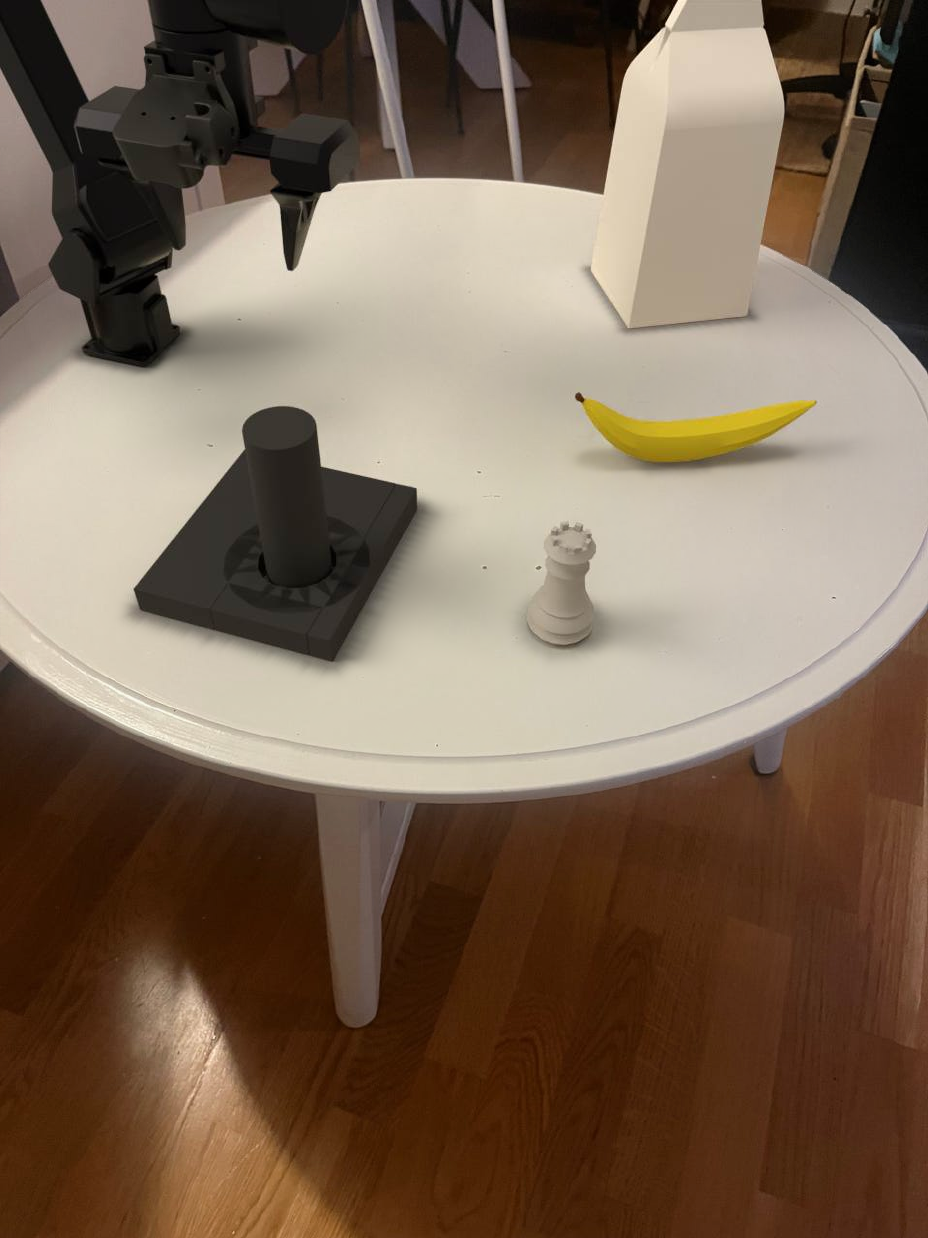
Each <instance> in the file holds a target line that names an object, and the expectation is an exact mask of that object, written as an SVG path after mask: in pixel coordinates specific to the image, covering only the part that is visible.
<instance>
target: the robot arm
mask: <svg viewBox="0 0 928 1238" xmlns="http://www.w3.org/2000/svg"><path fill="white" fill-rule="evenodd" d="M146 1H147V5H148V11H149V17H150V21H151V27H152V33H153V38H154V39H153V41H151V42H149V43H147V44H146V45H144V46H143V50H144V56H143V63H144V64H143V65H144V68H145V79H144V80H145V81H144V86H143V87H141V88H140V89H139V88H133V87H127V86H126V87H125V86H119V85H114V86H112V87H110V88H108V90H105V91H104V92H102V93H101V94H99V95H97V96H96V97H94V98H92V99H91V100H90V99H89V97H88V94H87V93H86V91H85V89H84V87H83V85H82V83H81V81H80V78H79V76H78V74H77V72H76V70H75V68H74V65H73V64H72V62H71V59H70V57H69V55H68V53H67V50H66V49H65V46H64V45H63V43H62V41H61V38H60V36H59V34H58V32H57V30H56V28H55V26H54V23H53V22H52V19H51V17H50V16H49V13H48V11H47V9H46V7H45V5H44V2H43V1H42V0H0V71H1V73H2V75H3V77H4V79H5V80H6V83H7V85H8V87H9V89H10V90H11V92H12V94H13V97H14V98H15V101H16V102H17V104H18V106H19V108H20V110H21V112H22V114H23V116H24V118H25V120H26V122H27V124H28V126H29V128H30V130H31V131H32V133H33V135H34V138H35V139H36V142H37V144H38V146H39V147H40V149H41V151H42V153H43V155H44V158H45V159H46V162H47V163H48V165H49V167H50V170H51V173H52V184H51V185H52V186H51V187H52V188H51V215H52V218H53V220H54V222H55V225H56V226H57V229H58V232H59V234H60V236H61V240H60V242H59V244H58V246H57V248H56V249H55V251H54V253H53V254H52V256H51V258H50V259H49V262H48V263H47V265H48V266H47V267H48V269H49V270H50V272H51V274H52V277H53V279H54V281H55V283H56V285H57V287H58V289H59V290H60V291H63V292H64V293H66V294H69V295H71V296H73V297H75V298H77V299H79V301H80V303H81V307H82V311H83V315H84V318H85V321H86V324H87V329H88V332H89V336H90V339H89V340H88V341H86V342H85V343H84V344H83V345H82V346H81V352H82V353H83V355H87V356H92V357H97V358H102V359H107V360H111V361H117V362H121V363H125V364H131V365H135V366H139V367H145V366H147V365H149V364H150V363H152V362H153V360H154V359H156V357H157V356H158V355H159V354H160V353H161V352H163V350H165V348H166V347H167V346H168V345H170V343H171V342H172V341H174V340H175V339H176V338H177V336H179V334H180V333H181V332H182V331H181V327H180V325H178V324H175V323H173V322H172V321H173V320H172V316H171V313H170V307H169V304H168V299H167V296H166V295H165V294H164V293H162V290H161V289H162V288H161V285H160V281H159V275H158V274H159V273H161V272H163V271H165V270H166V271H168V270H169V269H172V266H173V252H174V251H179V252H180V251H181V250H182V249H184V248H185V247H186V246H187V245H186V244H187V224H186V215H185V205H184V196H183V189H191V188H193V187H196V186H197V185H198V184H199V183H200V182H201V180H202V179H203V177H204V175H205V169H206V167H209V166H213V167H217V168H219V167H220V168H225V167H226V166H227V165H228V163H229V161H230V159H231V158H232V156H241V157H246V158H253V159H260V160H264V161H265V160H266V161H269V168H270V174H271V175H272V176H273V177H274V179H275V180H276V181H277V182H278V183H277V184H275V185H274V186H273V187H272V188H271V189H270V190H269V193H270V195H271V196H272V197H273V198H274V200H275V201H276V202H277V204H278V205H279V213H280V227H281V239H282V250H283V251H282V253H283V257H284V262H285V267H286V270H287V271H290V272H293V271H294V270H295V269H296V268H298V266H299V264H300V261H301V257H302V255H303V249H304V247H305V243H306V240H307V237H308V233H309V230H310V227H311V223H312V221H313V217H314V213H315V211H316V208H317V206H318V203H319V200H320V198H321V197H322V196H321V195H322V194H324V193H330V192H332V191H333V190H334V189H335V188H336V187H337V186H338V185H339V184H340V183H341V182H342V181H343V180H344V179H345V178H346V177H347V176H348V175H349V174H350V172H352V171H353V170H354V169H355V168H356V167H357V166H358V165H359V164H360V163H361V154H360V137H359V135H358V134H357V132H356V130H355V128H354V127H353V126H352V124H351V122H350V121H349V120H348V119H342V118H335V117H328V116H322V115H316V114H308V113H301V114H299V115H298V116H297V117H295V119H293V120H292V121H291V122H290V123H288V124H287V125H286V126H285V127H284V128H282V129H280V128H279V129H278V128H271V127H265V126H259V119H260V118H262V117H263V116H264V115H266V113H267V110H266V101H265V97H264V96H257V95H255V90H254V89H255V88H254V81H253V73H252V72H253V71H252V65H251V58H250V52H252V51H254V49H256V48H258V47H259V44H258V43H259V42H262V43H265V44H270V45H273V46H277V47H278V48H279V47H280V48H282V49H283V48H284V49H287V50H290V51H293V52H297V53H299V54H304V55H307V56H310V55H312V56H315V55H316V56H317V55H319V54H322V53H324V52H325V51H326V50H328V49H329V48H330V47H331V46H332V45H333V43H334V42H335V41H336V40H337V38H338V36H339V34H340V33H341V31H342V29H343V26H344V22H345V20H346V17H347V11H348V5H349V0H146ZM258 41H259V42H258ZM173 250H174V251H173Z"/></svg>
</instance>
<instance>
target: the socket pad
mask: <svg viewBox="0 0 928 1238" xmlns="http://www.w3.org/2000/svg"><path fill="white" fill-rule="evenodd" d="M321 470H322V480H323V489H324V498H325V507H326V517H327V526H328V535H329V544H330V554H331V563H332V573H331V574H330V575H329V576H328V577H327V578H325V579H324V580H322V581H321V582H320V583H317V584H314V585H311V586H308V587H305V588H284V587H280V586H276V585H273V584H271V583H270V582H269V581H268V579H266V578H264V576H265V575H267V571H266V565H265V559H264V554H263V548H262V542H261V537H260V531H259V525H258V520H257V514H256V508H255V503H254V497H253V491H252V486H251V480H250V474H249V469H248V463H247V457H246V452H245V449H243V451H242V452H241V453H240V455H239V456H238V457H237V458H236V460H235V461H234V462H233V463H232V464H231V465H230V467H229V468H228V469H227V471H226V472H224V474H223V476H222V477H221V478H220V480H219V481H218V482H217V483H216V484H215V486H214V487H213V488H212V490H211V491H210V492H209V493H208V495H207V496H206V497H205V499H204V500H203V501H202V502H201V503H200V504H199V506H198V507H197V508H196V510H195V511H194V512H193V513H192V515H191V516H190V517H189V518H188V520H187V521H186V522H185V524H184V525H183V526H182V527H181V529H180V530H179V531H178V532H177V534H176V535H175V536H174V537H173V539H172V540H171V541H170V542H169V544H168V545H167V546H166V547H165V549H164V550H163V551H162V553H161V554H160V555H159V556H158V557H157V558H156V560H155V561H154V563H152V565H151V566H150V568H149V569H148V570H147V571H146V573H145V574H144V575H143V576H142V578H140V580H139V581H138V583H136V585H135V586H134V587H133V592H134V596H135V598H136V601H137V604H138V607H139V610H141V611H142V612H143V611H144V612H147V613H150V614H153V615H158V616H162V617H165V618H169V619H173V620H177V621H181V622H184V623H188V624H192V625H195V626H198V627H202V628H206V629H211V630H215V631H218V632H221V633H225V634H229V635H233V636H236V637H240V638H244V639H248V640H251V641H256V642H259V643H263V644H266V645H270V646H274V647H278V648H282V649H285V650H289V651H292V652H295V653H300V654H303V655H308V656H312V657H314V658H315V657H316V658H319V659H323V660H327V661H331V662H333V661H334V659H335V658H336V655H337V654H338V652H339V650H340V648H341V647H342V645H343V643H344V641H345V639H346V638H347V635H348V634H349V632H350V630H351V628H352V627H353V625H354V623H355V621H356V619H357V618H358V616H359V614H360V612H361V610H362V609H363V607H364V605H365V603H366V602H367V600H368V598H369V597H370V594H371V593H372V591H373V589H374V588H375V585H376V583H377V582H378V580H379V578H380V576H381V574H382V573H383V571H384V569H385V567H386V566H387V564H388V562H389V560H390V559H391V557H392V555H393V553H394V551H395V549H396V547H397V546H398V545H399V542H400V540H401V539H402V537H403V535H404V533H405V531H406V530H407V528H408V526H409V524H410V522H411V521H412V519H413V517H414V515H415V513H416V511H417V510H418V488H417V487H413V486H409V485H405V484H400V483H396V482H392V481H388V480H383V479H378V478H374V477H369V476H366V475H361V474H357V473H352V472H348V471H343V470H339V469H334V468H329V467H326V466H321Z"/></svg>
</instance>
